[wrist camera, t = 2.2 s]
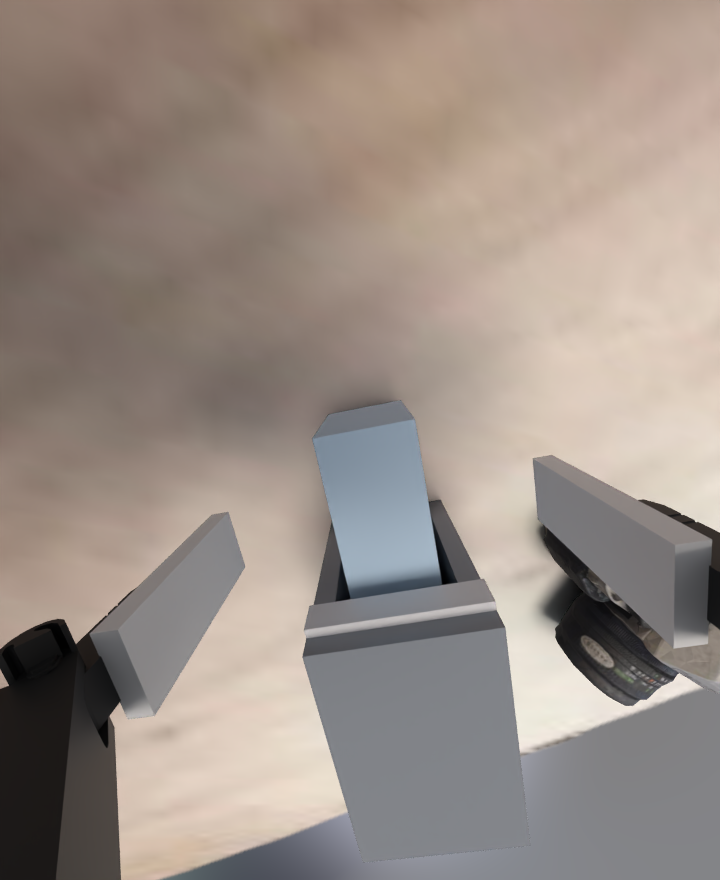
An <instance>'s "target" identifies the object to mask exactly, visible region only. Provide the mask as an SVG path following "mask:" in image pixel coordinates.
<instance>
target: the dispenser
mask: <svg viewBox="0 0 720 880" xmlns="http://www.w3.org/2000/svg"><path fill="white" fill-rule="evenodd" d="M429 508H430V514H431V521H432V527H433V533H434V539H435V545H436V551H437V557H438V563H439V569H440V576H441V582H442V585H440V586H434V587H427V588H421V589H414V590H408V591H401V592H395V593H389V594H382V595H376V596H369V597H363V598H357V599H351V598H350V594H349V590H348V585H347V581H346V577H345V573H344V569H343V565H342V560H341V556H340V552H339V548H338V544H337V540H336V535H335V531H334V527H333V523H331V528H330V532H329V537H328V541H327V546H326V551H325V555H324V560H323V564H322V569H321V574H320V578H319V583H318V588H317V592H316V597H315V601H314V605H312V606H309V611H308V615H307V619H306V624H305V628H304V632H305V636H306V643H305V648H304V652H303V660H304V664H305V667H306V671H307V674H308V677H309V681H310V684H311V688H312V691H313V694H314V698H315V701H316V705H317V708H318V711H319V715H320V718H321V722H322V725H323V728H324V732H325V735H326V739H327V742H328V745H329V749H330V752H331V756H332V759H333V762H334V766H335V769H336V772H337V776H338V779H339V783H340V786H341V789H342V793H343V796H344V800H345V803H346V806H347V810H348V813H349V817H350V820H351V823H352V827H353V830H354V834H355V837H356V840H357V843H358V847H359V851H360V854H361V857H362V861H363V862H364V863H365V862H374V861H384V860H394V859H404V858H414V857H424V856H433V855H444V854H453V853H463V852H474V851H484V850H493V849H503V848H512V847H523V846H530V838H529V829H528V820H527V812H526V803H525V794H524V785H523V777H522V768H521V760H520V751H519V742H518V734H517V725H516V716H515V708H514V699H513V690H512V682H511V673H510V665H509V656H508V647H507V639H506V630H505V626H504V624H503V622H502V620H501V618H500V616H499V614H498V612H497V610H496V602H495V599H494V598H493V596H492V594H491V592H490V590H489V588H488V586H487V584H486V582H485V580H484V579H480V577H479V575H478V573H477V571H476V569H475V567H474V565H473V563H472V561H471V559H470V557H469V555H468V553H467V551H466V549H465V547H464V545H463V543H462V541H461V539H460V537H459V535H458V533H457V531H456V529H455V527H454V525H453V523H452V521H451V519H450V518H449V516H448V514H447V512H446V510H445V508H444V506H443V504H442V502H441V500H438V501H432V502H429Z"/></svg>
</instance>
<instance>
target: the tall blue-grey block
mask: <svg viewBox="0 0 720 880" xmlns="http://www.w3.org/2000/svg"><path fill="white" fill-rule="evenodd" d="M312 440H313V444H314V448H315V452H316V456H317V461H318V465H319V469H320V473H321V477H322V481H323V486H324V490H325V494H326V498H327V502H328V506H329V511H330V515H331V519H332V523H333V527H334V531H335V535H336V540H337V544H338V548H339V552H340V556H341V560H342V565H343V569H344V573H345V577H346V581H347V585H348V590H349V594H350V598H351V599H357V598H363V597H369V596H376V595H382V594H389V593H395V592H401V591H408V590H414V589H421V588H427V587H434V586H440V585H442V582H441V576H440V569H439V563H438V557H437V551H436V545H435V539H434V533H433V527H432V521H431V514H430V508H429V502H428V496H427V490H426V484H425V478H424V472H423V465H422V459H421V453H420V447H419V441H418V435H417V429H416V423H415V419H414V417H413V416H412V415H411V413H410V412H409V410H408V409H407V408H406V406H405V405H404V404H403V402H402V401H401V400H399V401H394V402H389V403H384V404H379V405H374V406H368V407H363V408H358V409H353V410H348V411H343V412H338V413H333V414H328V416H327V417H326V419H325V420H324V422H323V423H322V425H321V426H320V428H319V429H318V431H317V432H316V434H315V435H314V437H313V438H312Z"/></svg>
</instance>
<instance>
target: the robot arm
mask: <svg viewBox="0 0 720 880" xmlns="http://www.w3.org/2000/svg"><path fill="white" fill-rule="evenodd" d="M533 468H534V479H535V491H536V502H537V514H538V520H539V521H540V522H541V523H543V524H544V525H545V526H546V527H547V528H548V529H549V530H550V531H551V532H552V533H553V534H554V535H555V536H556V537H557V538H558V539H559V540H560V541H561V542H562V543H564V544H565V545H566V546H567V547H568V548H569V549H570V550H571V551H572V552H573V553H574V554H575V555H576V556H577V557H578V558H579V559H580V560H581V561H582V562H583V563H584V564H586V565H587V566H588V567H589V568H590V569H591V570H592V571H593V572H594V573H595V574H596V575H597V576H598V577H599V578H600V579H601V580H602V581H603V582H604V583H605V584H606V585H608V586H609V587H610V588H611V589H612V590H613V591H614V592H615V593H616V594H617V595H618V596H619V597H620V598H621V599H622V600H623V601H624V602H625V603H626V604H627V605H628V606H630V607H631V608H632V609H633V610H634V611H635V612H636V613H637V614H638V615H639V616H640V617H641V618H642V619H643V620H644V621H645V622H646V623H647V624H648V625H649V626H651V627H652V628H653V629H654V630H655V631H656V632H657V633H658V634H659V635H660V636H661V637H662V638H663V639H664V640H665V641H666V642H667V643H668V644H669V645H670V646H671V647H673V648H682V647H690V646H697V645H705V644H708V631H709V622H710V623H712V624H713V625H714V626H715V627H717V628H718V629H719V630H720V533H719V532H717V531H715V530H713V529H711V528H709V527H707V526H705V525H703V524H701V523H699V522H695V520H693V519H691V518H689V517H687V516H685V515H681V513H679V512H677V511H675V510H673V509H671V508H669V507H667V506H665V505H661V504H658V503H654V502H651V501H647V500H644V499H643V500H636V499H634V498H632V497H631V496H629V495H627V494H625V493H623V492H621V491H619V490H617V489H615V488H613V487H612V486H610V485H608V484H606V483H604V482H602V481H600V480H598V479H596V478H594V477H593V476H591V475H589V474H587V473H585V472H583V471H581V470H579V469H577V468H576V467H574V466H572V465H570V464H568V463H566V462H564V461H562V460H560V459H558V458H557V457H555V456H553V455H549V456H543V457H538V458H533ZM244 568H245V564H244V561H243V557H242V554H241V551H240V548H239V545H238V541H237V538H236V535H235V532H234V529H233V525H232V522H231V519H230V516H229V512H225V513H219V514H214V515H211V516H210V517H209V518H208V519H207V520H206V521H205V522H204V523H203V524H202V525H201V526H200V527H199V528H198V529H197V530H196V531H195V532H194V533H193V534H192V535H191V536H190V537H189V538H187V539H186V540H185V541H184V542H183V543H182V544H181V545H180V546H179V547H178V548H177V549H176V550H175V551H174V552H173V553H172V554H171V555H170V556H169V557H168V558H167V559H166V560H165V561H164V562H163V563H162V564H161V565H160V566H159V567H158V568H157V569H156V570H155V571H154V572H153V573H152V574H151V575H149V576H148V577H147V578H146V579H145V580H144V581H143V582H142V583H141V584H140V585H139V586H138V587H137V588H135V589H134V590H133V591H131V592H130V593H129V594H128V595H127V596H126V597H124V598H123V599H122V600H121V601H120V602H119V603H118V606H115V607H114V608H113V609H112V610H111V611H110V612H109V613H108V615H107V616H105V617H104V618H103V619H102V620H101V621H100V622H99V623H98V624H96V625H95V626H94V627H93V628H92V629H91V630H90V631H89V632H88V633H87V634H86V635H85V636H84V637H83V638H82V639H81V640H80V641H79V642H78V643H77V644H75V642H74V640H73V638H72V635H71V633H70V631H69V629H68V627H67V625H66V622H65V620H63V619H56V620H51V621H47V622H45V623H42V624H40V625H37V626H35V627H33V628H31V629H29V630H27V631H25V632H23V633H22V634H20V635H19V636H17V637H15V638H14V639H12V640H11V641H9V642H8V643H7V644H6V645H5V646H4V647H2V648H1V649H0V669H1V671H2V673H3V675H4V677H5V679H6V680H7V682H8V684H9V686H7V687H4V688H2V689H0V880H121V871H120V848H119V825H118V801H117V778H116V755H115V732H114V725H113V723H112V721H111V719H110V717H109V716H110V715H111V713H112V712H113V710H114V709H115V708H116V706H117V705H118V704H119V702H120V703H121V705H122V707H123V710H124V712H125V714H126V716H127V719H135V718H142V717H150V716H155V714H156V713H157V711H158V710H159V708H160V706H161V705H162V703H163V701H164V700H165V698H166V696H167V695H168V693H169V691H170V690H171V688H172V687H173V685H174V683H175V682H176V680H177V678H178V677H179V675H180V673H181V672H182V670H183V668H184V667H185V665H186V663H187V662H188V660H189V659H190V657H191V655H192V654H193V652H194V650H195V649H196V647H197V645H198V644H199V642H200V640H201V639H202V637H203V635H204V634H205V632H206V631H207V629H208V627H209V626H210V624H211V622H212V621H213V619H214V617H215V616H216V614H217V612H218V611H219V609H220V608H221V606H222V604H223V603H224V601H225V599H226V598H227V596H228V594H229V593H230V591H231V589H232V588H233V586H234V584H235V583H236V581H237V580H238V578H239V576H240V575H241V573H242V571H243V570H244Z"/></svg>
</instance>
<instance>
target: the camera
mask: <svg viewBox="0 0 720 880" xmlns="http://www.w3.org/2000/svg"><path fill="white" fill-rule="evenodd" d="M545 528H546V536H545V538H544V541H545V543H546V545H547V547H548V549H549V551H550V553H551V555H552V557H553V558H554V560H555V561H556V562H557V563H558V565H559V566H560V567H561V568H562V569H563V570H564V571H565V572H566V573H567V575H568V576H569V577H570V578H571V579H572V580H573V581H574V582H575V583H576V584H577V585H578V587H579V588H580V589H581V590H582V591H583V593H582V594H581V595H580V596H579V597H577V598H576V600H575V601H574V602H573V603H572V604H571V606H570V608H569V609H568V611H567V612H566V614H565V615H564V617H563V619H562V620H561V622H560V624H559V625H558V626H557V627H556V628H555V631H556V636H555V638H556V640H557V642H558V644H559V645H560V647H561V648H562V650H563V651H564V653H565V654H566V655H567V657H568V658H569V659H570V661H571V662H572V663H573V665H574V666H575V667H576V668H577V669H578V670H579V671H580V672H581V673H582V674H583V675H584V676H585V677H586V678H587V679H588V680H589V681H590V682H591V683H592V684H593V685H594V686H596V687H597V688H598V689H599V690H601V691H602V692H603V693H604V694H606V695H607V696H608V697H610V698H612V699H613V700H615V701H617V702H619V703H621V704H623V705H625V706H633V705H634V704H636V703H637V702H638V701H639V700H647V699H648V698H649V697H650V696H651V695H652V694H653V693H654V692H655V691H656V690H657V689H659V688H660V687H661V686H663V685H665V684H667V683H669V682H672V681H673V680H674V679H675V677H676V675H677V674H679V673H680V674H682V675H683V676H685V677H687V678H688V679H690V680H692V681H693V682H695V683H696V684H698V685H700V686H701V687H703V688H705V689H706V690H709V691H712V692H714V693H720V630H719V629H718V628H717V627H715V626H714V625H713V624H712V623H710V622H709V631H708V644H705V645H697V646H690V647H682V648H673V647H671V646H670V645H669V644H668V643H667V642H666V641H665V640H664V639H663V638H662V637H661V636H660V635H659V634H658V633H657V632H656V631H655V630H654V629H653V628H652V627H651V626H649V625H648V624H647V623H646V622H645V621H644V620H643V619H642V618H641V617H640V616H639V615H638V614H637V613H636V612H635V611H634V610H633V609H632V608H631V607H630V606H628V605H627V604H626V603H625V602H624V601H623V600H622V599H621V598H620V597H619V596H618V595H617V594H616V593H615V592H614V591H613V590H612V589H611V588H610V587H609V586H608V585H606V584H605V583H604V582H603V581H602V580H601V579H600V578H599V577H598V576H597V575H596V574H595V573H594V572H593V571H592V570H591V569H590V568H589V567H588V566H587V565H586V564H584V563H583V562H582V561H581V560H580V559H579V558H578V557H577V556H576V555H575V554H574V553H573V552H572V551H571V550H570V549H569V548H568V547H567V546H566V545H565V544H564V543H562V542H561V541H560V540H559V539H558V538H557V537H556V536H555V535H554V534H553V533H552V532H551V531H550V530H549V529H548V528H547V527H545Z"/></svg>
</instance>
